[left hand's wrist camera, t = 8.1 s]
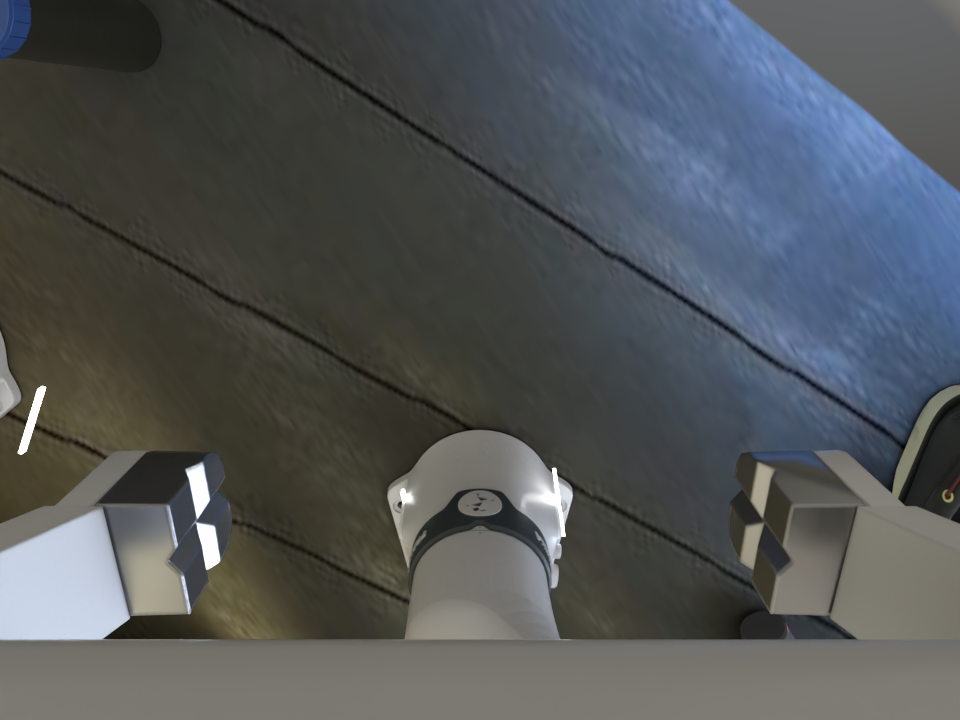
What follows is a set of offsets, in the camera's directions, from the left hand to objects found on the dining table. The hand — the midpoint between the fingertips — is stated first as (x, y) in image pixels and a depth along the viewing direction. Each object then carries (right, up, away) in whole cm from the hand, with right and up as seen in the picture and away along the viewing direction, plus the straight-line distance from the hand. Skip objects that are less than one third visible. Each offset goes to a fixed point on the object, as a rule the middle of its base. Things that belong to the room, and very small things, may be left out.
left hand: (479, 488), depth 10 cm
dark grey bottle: (-28, +28, +41) cm, 57 cm away
